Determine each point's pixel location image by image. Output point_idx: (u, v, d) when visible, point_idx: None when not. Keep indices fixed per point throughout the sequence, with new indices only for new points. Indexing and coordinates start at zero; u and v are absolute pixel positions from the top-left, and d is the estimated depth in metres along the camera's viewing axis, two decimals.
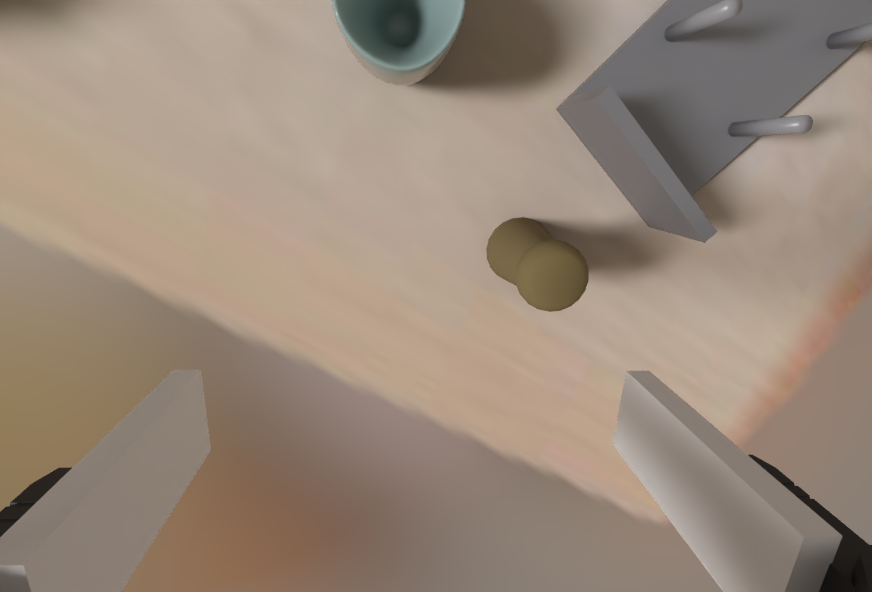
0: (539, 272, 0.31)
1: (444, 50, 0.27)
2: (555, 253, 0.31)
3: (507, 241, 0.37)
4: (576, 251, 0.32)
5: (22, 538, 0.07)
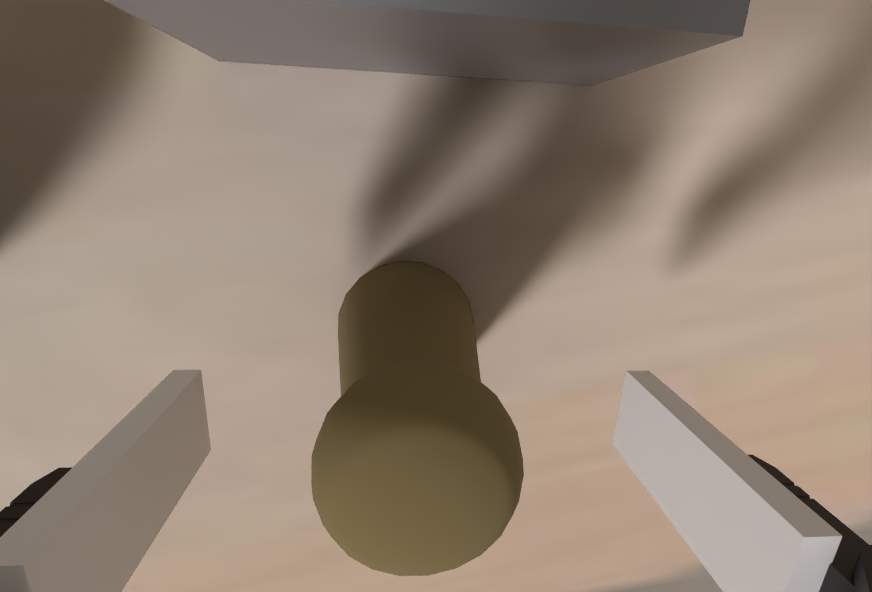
0: (352, 534, 0.10)
1: None
2: (344, 466, 0.09)
3: None
4: (401, 399, 0.10)
5: (22, 538, 0.07)
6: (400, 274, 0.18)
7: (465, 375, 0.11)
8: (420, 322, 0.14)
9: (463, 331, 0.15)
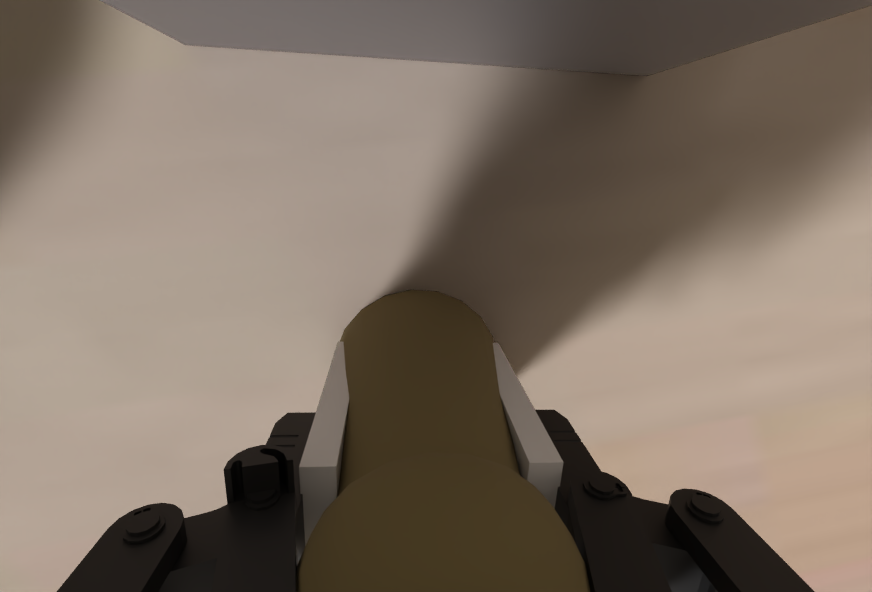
0: None
1: None
2: None
3: None
4: (419, 537, 0.06)
5: (320, 451, 0.10)
6: (411, 308, 0.15)
7: (510, 481, 0.08)
8: (438, 379, 0.11)
9: (493, 386, 0.12)
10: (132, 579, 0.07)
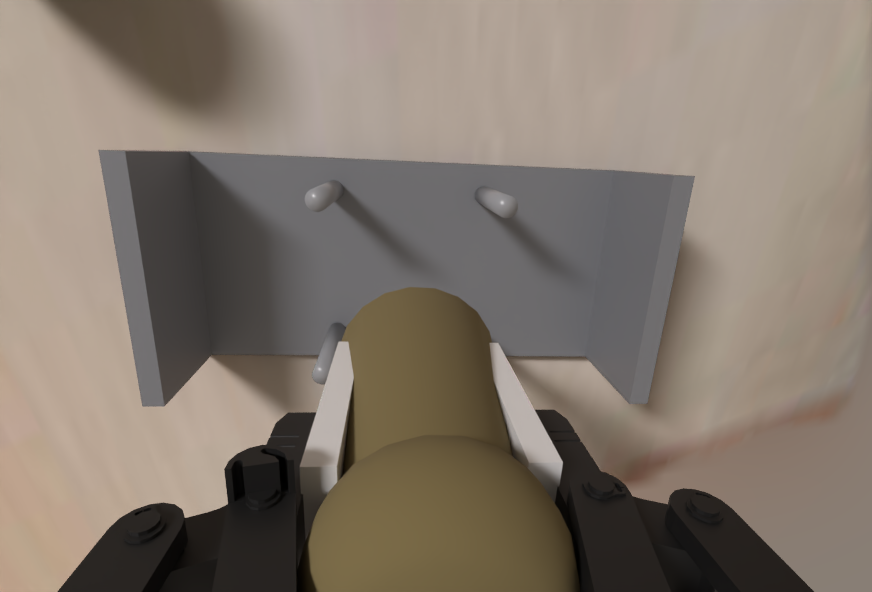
0: None
1: None
2: None
3: None
4: (416, 508, 0.07)
5: (321, 451, 0.10)
6: (410, 304, 0.15)
7: (500, 459, 0.08)
8: (436, 370, 0.12)
9: (488, 377, 0.13)
10: (133, 579, 0.07)
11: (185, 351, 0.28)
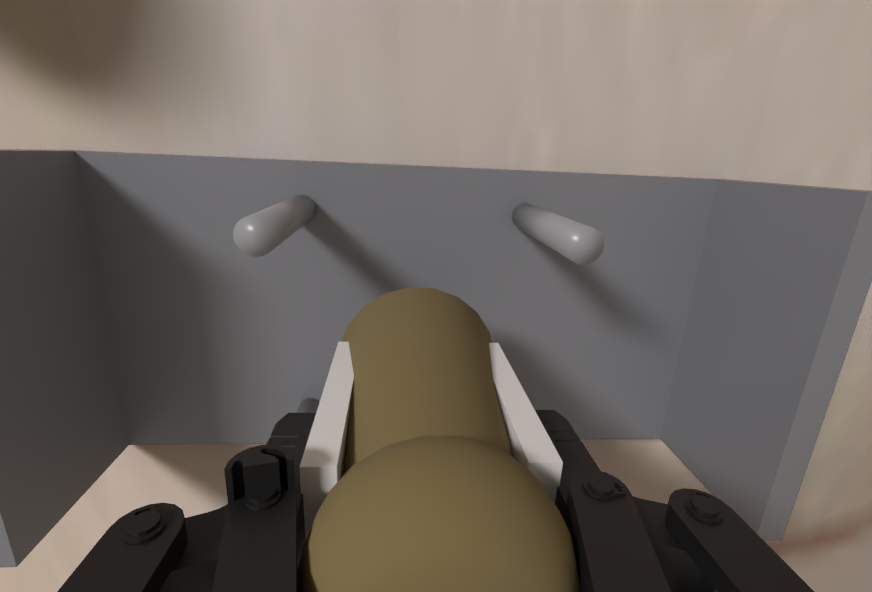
0: None
1: None
2: None
3: None
4: (416, 508, 0.07)
5: (321, 450, 0.10)
6: (409, 304, 0.15)
7: (500, 459, 0.08)
8: (435, 370, 0.12)
9: (488, 377, 0.13)
10: (133, 579, 0.07)
11: (68, 459, 0.18)
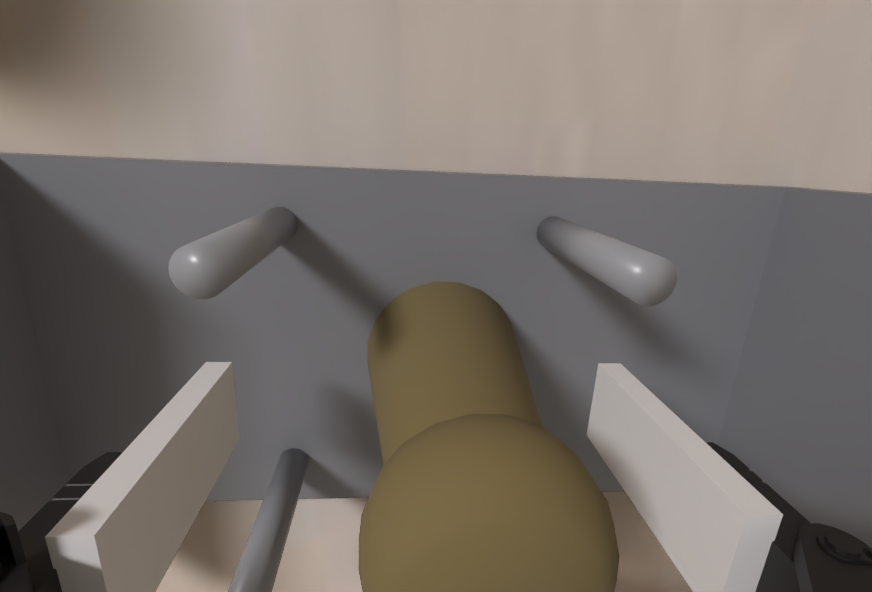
0: None
1: None
2: (404, 563, 0.08)
3: (375, 413, 0.14)
4: (472, 475, 0.08)
5: (89, 512, 0.08)
6: (437, 297, 0.16)
7: (541, 433, 0.09)
8: (469, 357, 0.12)
9: (516, 363, 0.13)
10: None
11: None
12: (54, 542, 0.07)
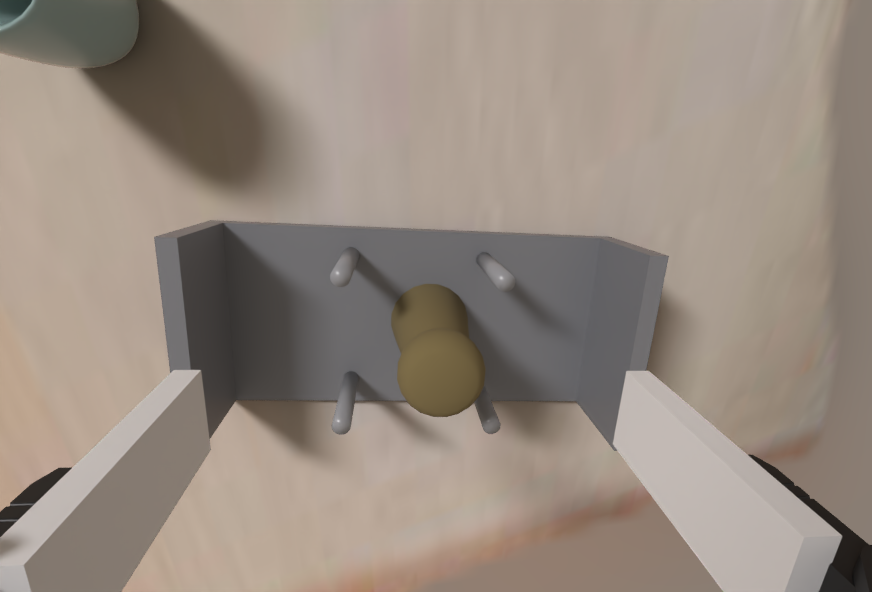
0: (416, 394, 0.25)
1: None
2: (413, 366, 0.25)
3: (397, 343, 0.32)
4: (434, 340, 0.25)
5: (22, 538, 0.07)
6: (426, 291, 0.33)
7: (460, 333, 0.26)
8: (439, 314, 0.30)
9: (460, 319, 0.31)
10: None
11: (215, 401, 0.32)
12: None
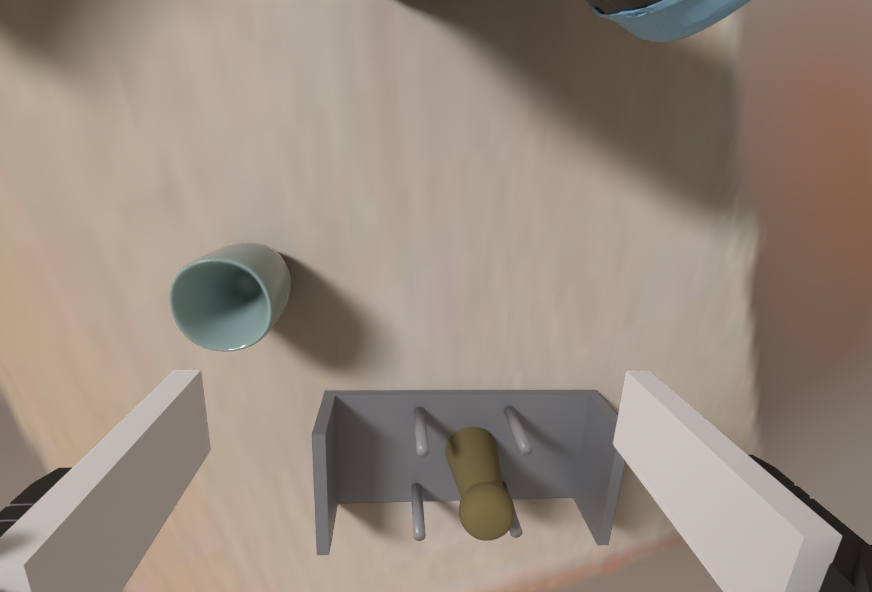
0: (473, 529, 0.41)
1: (227, 350, 0.36)
2: (471, 513, 0.40)
3: (453, 475, 0.47)
4: (484, 497, 0.41)
5: (22, 538, 0.07)
6: (470, 435, 0.49)
7: (498, 487, 0.42)
8: (482, 462, 0.45)
9: (495, 462, 0.46)
10: None
11: (332, 514, 0.48)
12: None
